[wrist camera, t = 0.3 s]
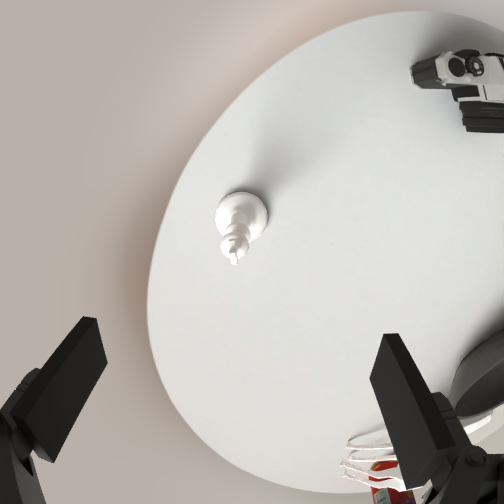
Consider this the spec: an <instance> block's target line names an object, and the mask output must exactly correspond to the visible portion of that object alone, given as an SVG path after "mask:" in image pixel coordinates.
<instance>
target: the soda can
mask: <svg viewBox="0 0 504 504" xmlns="http://www.w3.org/2000/svg"><path fill="white" fill-rule="evenodd" d="M395 467H398V461H397V460H385V461H378V462H377V463H375V464H374V465H373V466H372V467H371V469H370V470H372V471H382V470H386V469H390V468H395ZM388 479H393V478H390V477H387V478H380V479H378V478H375V477H372V476H370V475H369V480H370V481H375V482H381V481H384V480H388ZM370 487H371V491H372V495H373V500H374V504H416V501H415V498H414V495H413V492H412V489H411V490H406V491H401V492H399V491H398V490H396V489H395V488H389V487H387V488H380V489H378V488H375V487H372V486H370Z"/></svg>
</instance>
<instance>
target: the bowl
mask: <svg viewBox="0 0 504 504" xmlns="http://www.w3.org/2000/svg"><path fill="white" fill-rule="evenodd" d="M450 403H451V405H452V407H453V411H455V413H456V415H457V418H459V420H464V419H469V418H473V417H476V416H479V415H482V414H484V413H486V412H488V411H491V410H493V409H494V408H496V407H498V406H500V405H502V404H503V403H504V330H502V331H500V332H498V333H497V334H495V335H493V336H492V337H490V338H489V339H487V340H486V341H485V342H483V343H482V344H480V345H479V346H478V347H477V348H475V349H474V350H473V351H472V352H471V353H470V354H469V355H468V356H467V357H466V358H465V359H464V360H463V361H462V363H461V364H460V366H459V368H458V370H457V372H456V374H455V377H454V380H453V383H452V387H451V393H450Z"/></svg>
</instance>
